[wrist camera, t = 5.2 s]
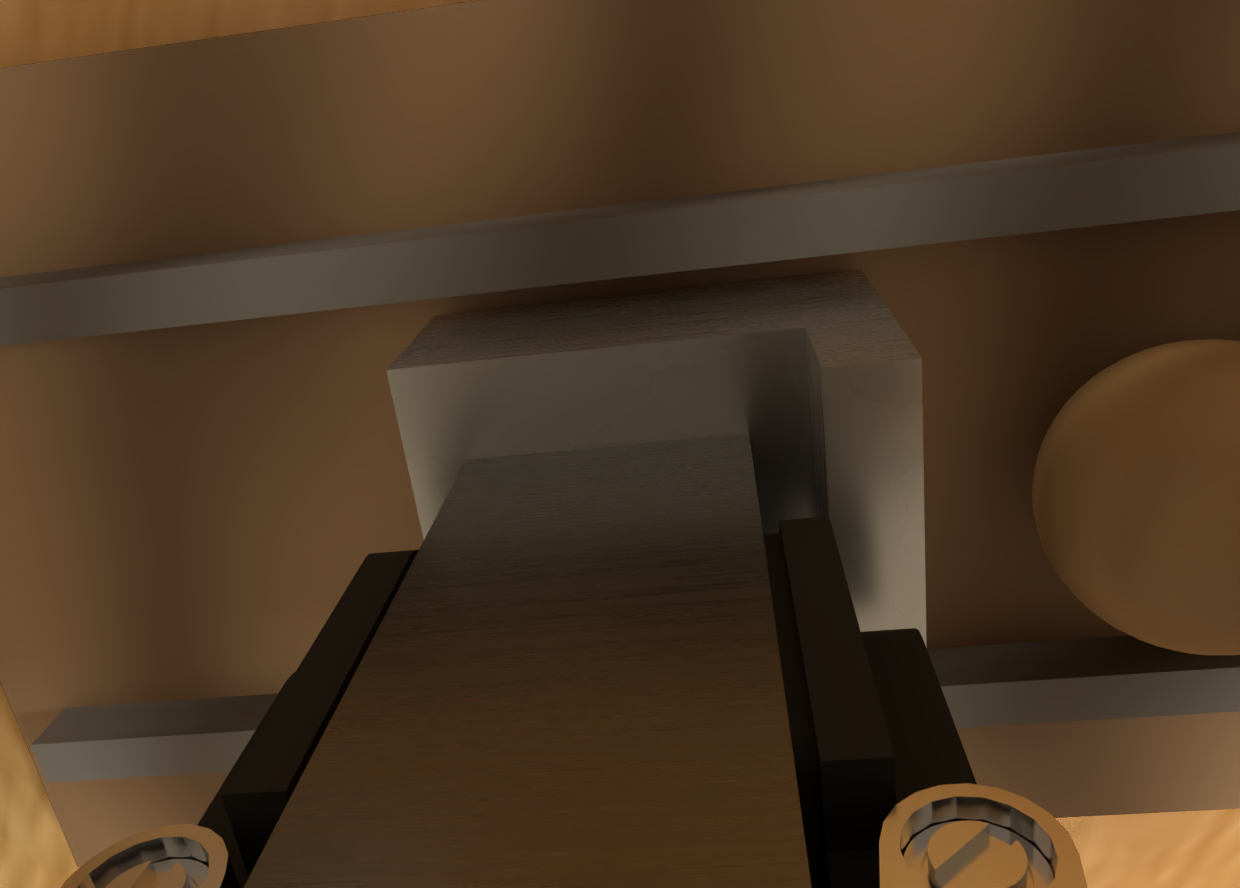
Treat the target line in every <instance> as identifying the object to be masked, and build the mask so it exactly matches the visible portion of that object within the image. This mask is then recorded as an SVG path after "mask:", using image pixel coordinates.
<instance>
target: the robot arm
mask: <svg viewBox="0 0 1240 888" xmlns="http://www.w3.org/2000/svg"><path fill="white" fill-rule="evenodd" d="M763 539H764V546H765V553H766V561H767V568H768V575H769V582H770V590H771V597H772V604H773V611H774V619H775V626H776V633H777V640H778V648H779V655H780V662H781V669H782V677H783V684H784V691H785V698H786V706H787V713H788V720H789V727H790V735H791V742H792V749H793V756H794V764H795V771H796V778H797V785H798V793H799V800H800V807H801V814H802V822H803V829H804V836H805V843H806V851H807V858H808V865H809V872H810V880H811V887H812V888H1087V884H1086V880H1085V876H1084V872H1083V868H1082V864H1081V860H1080V856H1079V853H1078V851H1077V849H1076V847H1075V845H1074V843H1073V841H1072V839H1071V836H1070V834H1069V832H1068V831H1067V830H1066V829H1065V828H1064V827H1063V826H1062V825H1061V824H1060V823H1059V822H1058V821H1057V820H1056V819H1055V818H1054V817H1053V816H1052V815H1051V814H1050V813H1049V812H1048V811H1046V810H1044V809H1043V808H1041V807H1040V806H1038V805H1036V804H1035V803H1033V802H1031V801H1030V800H1028V799H1027V798H1025V797H1022V796H1019V795H1016V794H1014V793H1011V792H1008V791H1005V790H1003V789H1000V788H997V787H990V786H983V785H977V783H976V780H975V777H974V775H973V772H972V769H971V767H970V764H969V761H968V758H967V756H966V753H965V750H964V748H963V745H962V742H961V740H960V737H959V734H958V732H957V729H956V726H955V724H954V721H953V718H952V715H951V713H950V710H949V707H948V705H947V702H946V699H945V697H944V694H943V691H942V689H941V686H940V683H939V681H938V678H937V675H936V672H935V670H934V667H933V664H932V662H931V659H930V656H929V654H928V651H927V648H926V646H925V643H924V640H923V638H922V636H921V634H920V631H919V630H918V629H916V628H909V629H895V630H880V631H865V632H861V631H860V628H859V624H858V620H857V617H856V613H855V609H854V606H853V602H852V598H851V595H850V591H849V587H848V584H847V580H846V576H845V573H844V569H843V565H842V562H841V558H840V555H839V551H838V547H837V544H836V540H835V536H834V533H833V529H832V525H831V522H830V519H829V517H816V518H804V519H791V520H779V533H778V534H765V535H763ZM418 551H419V550H408V551H395V552H383V553H371V554H368V555H367V557H366V558H365V559H364V561H363V562H362V564H361V566H360V567H359V569H358V571H357V572H356V574H355V576H354V577H353V579H352V580H351V582H350V584H349V585H348V587H347V589H346V590H345V592H344V594H343V595H342V597H341V598H340V600H339V602H338V603H337V605H336V607H335V608H334V610H333V611H332V613H331V615H330V616H329V618H328V620H327V621H326V623H325V625H324V626H323V628H322V629H321V631H320V633H319V634H318V636H317V638H316V639H315V641H314V643H313V644H312V646H311V647H310V649H309V651H308V652H307V654H306V656H305V657H304V659H303V661H302V662H301V664H300V665H299V667H298V669H297V670H296V672H294V673H293V674H292V675H291V676H290V677H289V678H288V679H287V681H286V682H285V684H284V685H283V687H282V689H281V690H280V692H279V693H278V695H277V697H276V698H275V700H274V701H273V703H272V705H271V706H270V708H269V710H268V711H267V713H266V714H265V716H264V718H263V719H262V721H261V723H260V724H259V726H258V727H257V729H256V731H255V732H254V734H253V735H252V737H251V739H250V740H249V742H248V744H247V745H246V747H245V748H244V750H243V752H242V753H241V755H240V757H239V758H238V760H237V761H236V763H235V765H234V766H233V768H232V769H231V771H230V773H229V774H228V776H227V778H226V779H225V781H224V782H223V784H222V786H221V787H220V789H219V791H218V792H217V794H216V795H215V797H214V799H213V800H212V802H211V803H210V805H209V807H208V808H207V810H206V812H205V813H204V815H203V816H202V818H201V820H200V821H199V823H198V825H192V824H181V825H166V826H162V827H158V828H154V829H150V830H146V831H142V832H139V833H137V834H135V835H132V836H130V837H128V838H126V839H123V840H121V841H119V842H117V843H114V844H113V845H111V846H109V847H108V848H106V849H105V850H103V851H102V852H100V853H98V854H97V855H95V856H94V857H92V858H91V859H89V860H88V861H87V862H86V863H84V864H83V865H82V866H81V867H80V868H79V869H78V870H77V871H76V872H74V873H73V874H72V875H71V876H70V877H69V878H68V879H67V880H66V881H65V882H64V884H63V885H62V887H61V888H244V886H245V884H246V882H247V880H248V878H249V876H250V874H251V872H252V870H253V868H254V867H255V865H256V863H257V861H258V859H259V857H260V855H261V853H262V851H263V849H264V847H265V845H266V843H267V842H268V840H269V838H270V836H271V834H272V832H273V830H274V828H275V826H276V824H277V822H278V820H279V818H280V816H281V815H282V813H283V811H284V809H285V807H286V805H287V803H288V801H289V799H290V797H291V795H292V793H293V791H294V790H295V788H296V786H297V784H298V782H299V780H300V778H301V776H302V774H303V772H304V770H305V768H306V766H307V764H308V763H309V761H310V759H311V757H312V755H313V753H314V751H315V749H316V747H317V745H318V743H319V741H320V739H321V738H322V736H323V734H324V732H325V730H326V728H327V726H328V724H329V722H330V720H331V718H332V716H333V714H334V712H335V711H336V709H337V707H338V705H339V703H340V701H341V699H342V697H343V695H344V693H345V691H346V689H347V687H348V686H349V684H350V682H351V680H352V678H353V676H354V674H355V672H356V670H357V668H358V666H359V664H360V662H361V660H362V659H363V657H364V655H365V653H366V651H367V649H368V647H369V645H370V643H371V641H372V639H373V637H374V635H375V634H376V632H377V630H378V628H379V626H380V624H381V622H382V620H383V618H384V616H385V614H386V612H387V610H388V608H389V607H390V605H391V603H392V601H393V599H394V597H395V595H396V593H397V591H398V589H399V587H400V585H401V583H402V582H403V580H404V578H405V576H406V574H407V572H408V570H409V568H410V566H411V564H412V562H413V560H414V558H415V556H416V555H417V553H418Z"/></svg>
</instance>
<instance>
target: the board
mask: <svg viewBox="0 0 1240 888" xmlns="http://www.w3.org/2000/svg"><path fill="white" fill-rule="evenodd" d="M860 269H861V270H862V271H863V273H864V274H865V276H866V277H867V279H868V280H869V282H870V283H871V285H872V286H873V287H874V289H875V290H876V292H877V293H878V295H879V296H880V298H881V299H882V301H883V302H884V304H885V305H886V306H887V308H888V309H889V311H890V312H891V314H892V315H893V317H894V318H895V320H896V321H897V322H898V324H899V325H900V327H901V328H902V330H903V331H904V333H905V334H906V336H907V337H908V339H909V340H910V341H911V343H912V344H913V346H914V347H915V349H916V350H917V352H918V353H919V355H920V356H921V357H922V403H923V463H924V524H925V584H926V644H927V651H928V654H929V656H930V659H931V662H932V664H933V667H934V670H935V672H936V675H937V678H938V681H939V683H940V686H941V689H942V691H943V694H944V697H945V699H946V702H947V705H948V707H949V710H950V713H951V715H952V718H953V721H954V724H955V726H956V729H957V732H958V734H959V737H960V740H961V742H962V745H963V748H964V750H965V753H966V756H967V758H968V761H969V764H970V767H971V769H972V772H973V775H974V777H975V780H976V783H977V785H983V786H990V787H997V788H1000V789H1003V790H1005V791H1008V792H1011V793H1014V794H1016V795H1019V796H1022V797H1025V798H1027V799H1028V800H1030V801H1031V802H1033V803H1035V804H1036V805H1038V806H1040V807H1041V808H1043V809H1044V810H1046V811H1048V812H1049V813H1050V814H1051V815H1052V816H1053V817H1054V818H1059V817H1079V816H1099V815H1119V814H1139V813H1159V812H1179V811H1199V810H1219V809H1239V808H1240V0H479V1H471V2H464V3H457V4H450V5H443V6H436V7H429V8H422V9H415V10H408V11H401V12H394V13H387V14H379V15H372V16H365V17H358V18H351V19H344V20H337V21H330V22H323V23H316V24H309V25H302V26H295V27H287V28H280V29H273V30H266V31H259V32H252V33H245V34H238V35H231V36H224V37H217V38H210V39H203V40H195V41H188V42H181V43H174V44H167V45H160V46H153V47H146V48H139V49H132V50H125V51H118V52H111V53H103V54H96V55H89V56H82V57H75V58H68V59H61V60H54V61H47V62H40V63H33V64H26V65H19V66H11V67H4V68H0V682H1V685H2V687H3V690H4V692H5V694H6V697H7V699H8V702H9V704H10V706H11V709H12V711H13V713H14V716H15V718H16V721H17V723H18V725H19V728H20V730H21V733H22V735H23V737H24V740H25V742H26V745H27V747H28V749H29V752H30V754H31V757H32V759H33V761H34V764H35V766H36V768H37V771H38V773H39V776H40V778H41V780H42V783H43V785H44V788H45V790H46V792H47V795H48V797H49V800H50V802H51V804H52V807H53V809H54V811H55V814H56V816H57V819H58V821H59V823H60V826H61V828H62V831H63V833H64V835H65V838H66V840H67V843H68V845H69V847H70V850H71V852H72V855H73V857H74V859H75V862H76V864H77V866H78V867H80V866H82V865H83V864H84V863H86V862H87V861H88V860H89V859H91V858H92V857H94V856H95V855H97V854H98V853H100V852H102V851H103V850H105V849H106V848H108V847H109V846H111V845H113V844H114V843H117V842H119V841H121V840H123V839H126V838H128V837H130V836H132V835H135V834H137V833H139V832H142V831H146V830H150V829H154V828H158V827H162V826H166V825H181V824H192V825H198V823H199V821H200V820H201V818H202V816H203V815H204V813H205V812H206V810H207V808H208V807H209V805H210V803H211V802H212V800H213V799H214V797H215V795H216V794H217V792H218V791H219V789H220V787H221V786H222V784H223V782H224V781H225V779H226V778H227V776H228V774H229V773H230V771H231V769H232V768H233V766H234V765H235V763H236V761H237V760H238V758H239V757H240V755H241V753H242V752H243V750H244V748H245V747H246V745H247V744H248V742H249V740H250V739H251V737H252V735H253V734H254V732H255V731H256V729H257V727H258V726H259V724H260V723H261V721H262V719H263V718H264V716H265V714H266V713H267V711H268V710H269V708H270V706H271V705H272V703H273V701H274V700H275V698H276V697H277V695H278V693H279V692H280V690H281V689H282V687H283V685H284V684H285V682H286V681H287V679H288V678H289V677H290V676H291V675H292V674H293V673H294V672H296V670H297V669H298V667H299V665H300V664H301V662H302V661H303V659H304V657H305V656H306V654H307V652H308V651H309V649H310V647H311V646H312V644H313V643H314V641H315V639H316V638H317V636H318V634H319V633H320V631H321V629H322V628H323V626H324V625H325V623H326V621H327V620H328V618H329V616H330V615H331V613H332V611H333V610H334V608H335V607H336V605H337V603H338V602H339V600H340V598H341V597H342V595H343V594H344V592H345V590H346V589H347V587H348V585H349V584H350V582H351V580H352V579H353V577H354V576H355V574H356V572H357V571H358V569H359V567H360V566H361V564H362V562H363V561H364V559H365V558H366V557H367V555H368V554H371V553H383V552H395V551H408V550H419V549H420V547H421V545H422V543H423V541H424V539H423V534H422V529H421V525H420V520H419V516H418V511H417V507H416V502H415V498H414V493H413V489H412V484H411V480H410V475H409V471H408V466H407V462H406V457H405V453H404V448H403V444H402V439H401V435H400V430H399V425H398V421H397V416H396V412H395V407H394V403H393V398H392V394H391V389H390V385H389V380H388V376H387V371H386V370H387V369H388V368H389V367H390V365H391V364H392V363H393V362H394V361H395V360H396V359H397V357H398V356H399V355H400V354H401V353H402V352H403V351H404V350H405V348H406V347H407V346H408V345H409V344H410V343H411V342H412V340H413V339H414V338H415V337H416V336H417V335H418V334H419V333H420V331H421V330H422V329H423V328H424V327H425V326H426V325H427V323H428V322H429V321H430V320H431V319H432V318H433V317H434V316H435V315H443V314H452V313H461V312H471V311H480V310H489V309H498V308H508V307H517V306H526V305H536V304H545V303H554V302H563V301H573V300H582V299H591V298H600V297H610V296H619V295H628V294H638V293H647V292H656V291H665V290H675V289H684V288H693V287H702V286H712V285H721V284H730V283H740V282H749V281H758V280H767V279H777V278H786V277H795V276H804V275H814V274H823V273H832V272H842V271H851V270H860Z"/></svg>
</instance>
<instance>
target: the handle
mask: <svg viewBox="0 0 1240 888" xmlns="http://www.w3.org/2000/svg"><path fill="white" fill-rule="evenodd" d="M386 371H387V376H388V380H389V385H390V389H391V394H392V398H393V403H394V407H395V412H396V416H397V421H398V425H399V430H400V435H401V439H402V444H403V448H404V453H405V457H406V462H407V466H408V471H409V475H410V480H411V484H412V489H413V493H414V498H415V502H416V507H417V511H418V516H419V520H420V525H421V529H422V534H423V539H424V541H423V543H422V545H421V547H420V549H419V551H418V553H417V555H416V556H415V558H414V560H413V562H412V564H411V566H410V568H409V570H408V572H407V574H406V576H405V578H404V580H403V582H402V583H401V585H400V587H399V589H398V591H397V593H396V595H395V597H394V599H393V601H392V603H391V605H390V607H389V608H388V610H387V612H386V614H385V616H384V618H383V620H382V622H381V624H380V626H379V628H378V630H377V632H376V634H375V635H374V637H373V639H372V641H371V643H370V645H369V647H368V649H367V651H366V653H365V655H364V657H363V659H362V660H361V662H360V664H359V666H358V668H357V670H356V672H355V674H354V676H353V678H352V680H351V682H350V684H349V686H348V687H347V689H346V691H345V693H344V695H343V697H342V699H341V701H340V703H339V705H338V707H337V709H336V711H335V712H334V714H333V716H332V718H331V720H330V722H329V724H328V726H327V728H326V730H325V732H324V734H323V736H322V738H321V739H320V741H319V743H318V745H317V747H316V749H315V751H314V753H313V755H312V757H311V759H310V761H309V763H308V764H307V766H306V768H305V770H304V772H303V774H302V776H301V778H300V780H299V782H298V784H297V786H296V788H295V790H294V791H293V793H292V795H291V797H290V799H289V801H288V803H287V805H286V807H285V809H284V811H283V813H282V815H281V816H280V818H279V820H278V822H277V824H276V826H275V828H274V830H273V832H272V834H271V836H270V838H269V840H268V842H267V843H266V845H265V847H264V849H263V851H262V853H261V855H260V857H259V859H258V861H257V863H256V865H255V867H254V868H253V870H252V872H251V874H250V876H249V878H248V880H247V882H246V884H245V886H244V888H812V887H811V880H810V872H809V865H808V858H807V851H806V843H805V836H804V829H803V822H802V814H801V807H800V800H799V793H798V785H797V778H796V771H795V764H794V756H793V749H792V742H791V735H790V727H789V720H788V713H787V706H786V698H785V691H784V684H783V677H782V669H781V662H780V655H779V648H778V640H777V633H776V626H775V619H774V611H773V604H772V597H771V590H770V582H769V575H768V568H767V561H766V553H765V546H764V539H763V535H765V534H778V533H779V520H791V519H804V518H816V517H829V519H830V522H831V525H832V529H833V533H834V536H835V540H836V544H837V547H838V551H839V555H840V558H841V562H842V565H843V569H844V573H845V576H846V580H847V584H848V587H849V591H850V595H851V598H852V602H853V606H854V609H855V613H856V617H857V620H858V624H859V628H860V631H861V632H865V631H880V630H895V629H909V628H916V629H918V630H919V631H920V634H921V636H922V638H923V640H924V643H925V646H926V648H927V644H926V584H925V524H924V463H923V403H922V357H921V356H920V355H919V353H918V352H917V350H916V349H915V347H914V346H913V344H912V343H911V341H910V340H909V339H908V337H907V336H906V334H905V333H904V331H903V330H902V328H901V327H900V325H899V324H898V322H897V321H896V320H895V318H894V317H893V315H892V314H891V312H890V311H889V309H888V308H887V306H886V305H885V304H884V302H883V301H882V299H881V298H880V296H879V295H878V293H877V292H876V290H875V289H874V287H873V286H872V285H871V283H870V282H869V280H868V279H867V277H866V276H865V274H864V273H863V271H862V270H861V269H860V270H851V271H842V272H832V273H823V274H814V275H804V276H795V277H786V278H777V279H767V280H758V281H749V282H740V283H730V284H721V285H712V286H702V287H693V288H684V289H675V290H665V291H656V292H647V293H638V294H628V295H619V296H610V297H600V298H591V299H582V300H573V301H563V302H554V303H545V304H536V305H526V306H517V307H508V308H498V309H489V310H480V311H471V312H461V313H452V314H443V315H435V316H434V317H433V318H432V319H431V320H430V321H429V322H428V323H427V325H426V326H425V327H424V328H423V329H422V330H421V331H420V333H419V334H418V335H417V336H416V337H415V338H414V339H413V340H412V342H411V343H410V344H409V345H408V346H407V347H406V348H405V350H404V351H403V352H402V353H401V354H400V355H399V356H398V357H397V359H396V360H395V361H394V362H393V363H392V364H391V365H390V367H389V368H388V369H387V370H386Z"/></svg>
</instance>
